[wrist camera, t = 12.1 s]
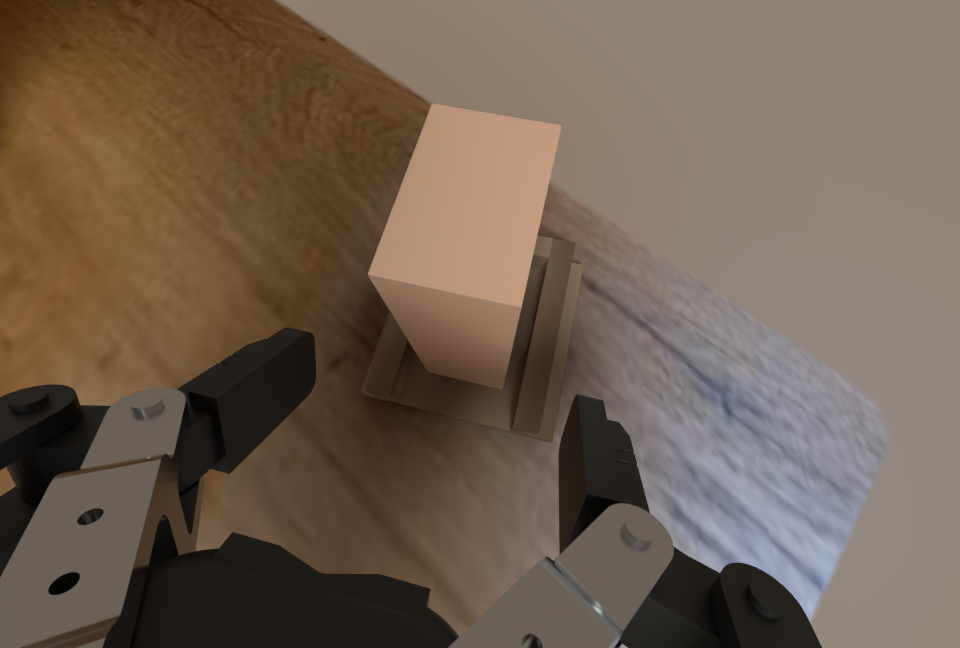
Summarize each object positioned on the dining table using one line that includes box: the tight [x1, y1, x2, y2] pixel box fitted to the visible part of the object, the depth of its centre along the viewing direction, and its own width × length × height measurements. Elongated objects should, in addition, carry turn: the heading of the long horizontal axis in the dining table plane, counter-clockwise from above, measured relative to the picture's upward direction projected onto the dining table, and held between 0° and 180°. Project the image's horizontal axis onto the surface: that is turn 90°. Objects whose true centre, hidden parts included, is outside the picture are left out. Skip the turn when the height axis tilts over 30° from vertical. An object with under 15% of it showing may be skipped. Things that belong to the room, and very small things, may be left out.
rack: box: [360, 235, 583, 442], centre depth 21 cm, size 10×10×3 cm
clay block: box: [368, 104, 561, 390], centre depth 16 cm, size 4×6×11 cm, turn 166°
